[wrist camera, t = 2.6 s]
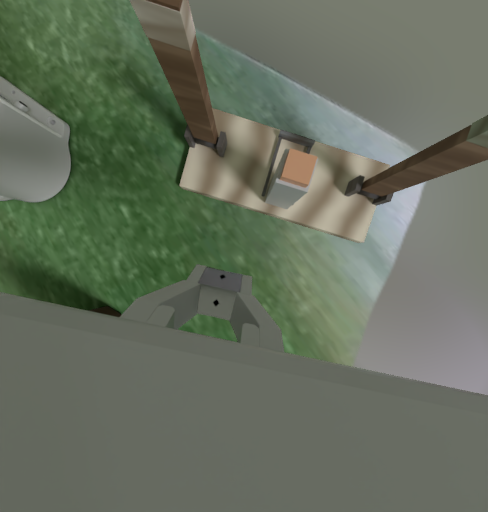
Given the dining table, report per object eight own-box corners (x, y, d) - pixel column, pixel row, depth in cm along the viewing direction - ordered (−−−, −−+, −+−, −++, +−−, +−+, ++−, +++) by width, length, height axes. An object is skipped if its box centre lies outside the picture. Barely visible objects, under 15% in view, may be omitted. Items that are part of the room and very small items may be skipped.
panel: (182, 188, 32) (172, 179, 28) (203, 111, 31) (196, 88, 27) (357, 242, 33) (376, 242, 28) (382, 169, 32) (406, 156, 28)
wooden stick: (373, 200, 30) (560, 137, 12) (353, 194, 30) (511, 121, 12) (376, 190, 30) (569, 111, 12) (356, 184, 30) (521, 95, 12)
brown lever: (217, 151, 30) (178, 11, 12) (196, 145, 30) (125, -7, 12) (220, 141, 30) (185, -17, 12) (199, 134, 30) (131, -35, 12)
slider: (286, 209, 31) (310, 189, 20) (264, 202, 31) (276, 178, 20) (293, 187, 31) (322, 154, 20) (271, 180, 30) (287, 143, 19)
